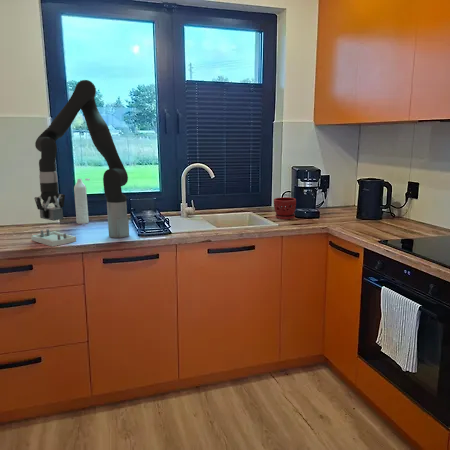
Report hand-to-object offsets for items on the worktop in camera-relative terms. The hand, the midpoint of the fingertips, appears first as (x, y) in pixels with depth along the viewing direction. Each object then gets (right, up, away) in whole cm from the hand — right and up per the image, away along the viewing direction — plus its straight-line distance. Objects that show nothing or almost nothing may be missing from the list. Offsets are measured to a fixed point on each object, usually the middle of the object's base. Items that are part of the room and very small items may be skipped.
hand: (51, 217), depth 193 cm
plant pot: (+117, 0, +55) cm, 129 cm away
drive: (0, 0, 0) cm, 1 cm away
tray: (0, -11, +2) cm, 11 cm away
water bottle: (+1, -2, +42) cm, 42 cm away
